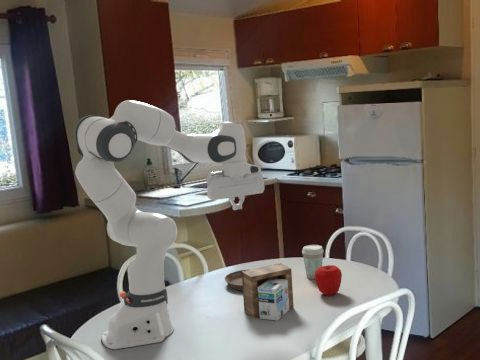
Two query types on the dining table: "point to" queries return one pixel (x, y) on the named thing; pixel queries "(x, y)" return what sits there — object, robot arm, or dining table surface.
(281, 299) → the light bulb box
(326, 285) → the apple
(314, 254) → the coffee cup
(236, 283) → the plant saucer
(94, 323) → the dining table surface
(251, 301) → the walnut dock
